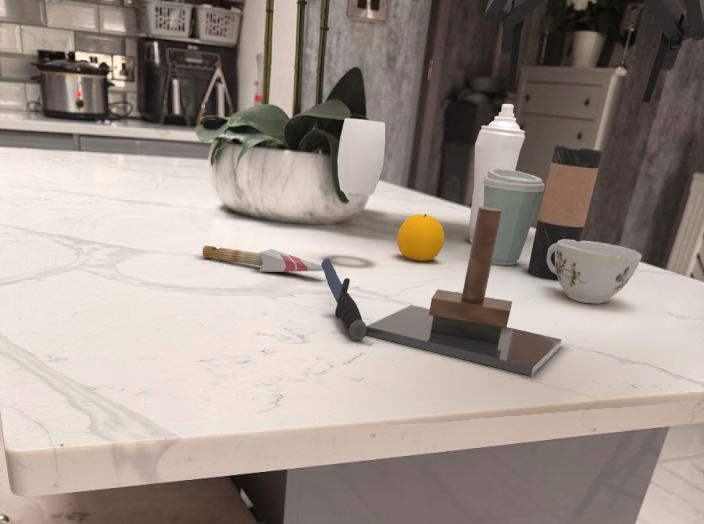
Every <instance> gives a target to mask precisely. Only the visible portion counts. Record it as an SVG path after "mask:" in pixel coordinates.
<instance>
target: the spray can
mask: <svg viewBox="0 0 704 524" xmlns="http://www.w3.org/2000/svg"><path fill="white" fill-rule="evenodd" d="M514 106H515V105H514V104H512V103H503V104H502V105H501V110H500V111H499V112H498V115H496V116H494V118H493V119H494V120H492V121H491V122H489V124H488V125H481V129H480V130H479V131H478V134H477V138H476V141H475V144H474V169H473V170H474V175H473V191H472V198H471V206H470V213H469V221H468V229H469V231H468V232H469V242H470V243H471V244H472V241H473V235H474V230H475V225H476V220H477V214H478V209H479V207H483V205H484V184H483V181H484V177H485V176H487V175H488V170H489V169H508V170H514V171H516V168H517V165H518V161H519V157H520V153H521V149H522V146H523V144H524V141H525V139H526V135H525V133H526V131H525V130H523V129H520V128H521V127H520V126H519V124H518V123H517V122H516V121H517V118H516V117H515V113H514Z"/></svg>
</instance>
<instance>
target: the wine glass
mask: <svg viewBox="0 0 704 524" xmlns="http://www.w3.org/2000/svg"><path fill="white" fill-rule="evenodd" d="M385 149H386V123H385V122H383V121H376V120H370V119H361V118H360V119H359V118H351V117H348V118H347V117H346V118H344V122H343V125H342V129H341V133H340V138H339V145H338V152H337V159H336V160H337V178H338V184H339V190H340V191H341V192H343V195H344V196H345V197H346V199H347V200H348V201H350V202H352V203H353V204H355V205H356V204H359V203H362V202H365V201H366V200H367V199H368V198H369V197H370V196H371V195H374V193H375V191H376V189H377V186H378V184H379V182H380V177H381V174H382V171H383V167H384V161H385Z"/></svg>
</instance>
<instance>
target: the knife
mask: <svg viewBox="0 0 704 524" xmlns="http://www.w3.org/2000/svg"><path fill="white" fill-rule="evenodd" d="M320 265H321V266H322V268H323V271H322V272H323V273H324V277H325V279H326V282H327V286H328V287H329V289H330V292H331V293H332V296H333V297H334V300H335V302H336V307H335V310H334V316H335V317H336V318H339V320H340V321H341V322H342V325H344V327H345V328H346V330H347V331H348V336H349V337H350V339H351V340H352V341H354V342H355V341H357V342H358V341H361V340H363V339H364V337H365V336H366V335H365V333H366V326H367V325H366V323H365V321H363V318H362V314H361V313H360V310H359V307H358V305H357V302H356V301H355V300H354V299H353V297H352V296H351V295H350V293H348V290H349V286H350V282H351V279H350V278H348V277H346V278H344V279H343V282H342V281H341V280H340V277H339V275H338V273H337V271H336V269H335V267H334V265H333V263H332V262H331V260H330V259H329V258H327V257H326V258H324V259H323V261H322V262H321V264H320Z"/></svg>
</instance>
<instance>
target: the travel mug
mask: <svg viewBox="0 0 704 524" xmlns="http://www.w3.org/2000/svg"><path fill="white" fill-rule="evenodd" d="M602 156H603V150H599V149H593V148H592V149H591V148H585V147H584V148H579V149H578V148H571V147H567V146H565V145H555V146H554V151H553V153H552V159H551V163H550V167H549V171H548V176H547V179H546V184H545V187H544V191H543V196H542V200H541V205H540V209H539V213H538V216H537V222H536V227H535V231H534V237H533V238H534V239H533V241H532V242H533V243H532V247H531V251H530V252H531V253H530V256H529V257H530V258H529V263H528V268H527V273H528V274H529V275H532V276H533V277H538V278H542V279H547V280H556V281H559V280H558V277H557V275H556V274H555V273H553V272H552V271H551V270H550V269H549V267H548V264H547V253H548V249H549V248H550V246H551V245H553V244H555V243H557V242H558V241H560V240H562V239H566V240H574V241H577V242H580V241H581V239H582V234H583V232H584V227H585V224H586V220H587V216H588V212H589V209H590V204H591V201H592V196H593V193H594V187H595V185H596V180H597V176H598V173H599V168H600V164H601V160H602ZM551 262H552V264H553V265H554V267H555V251H554V252H553V253H552V255H551Z"/></svg>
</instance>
